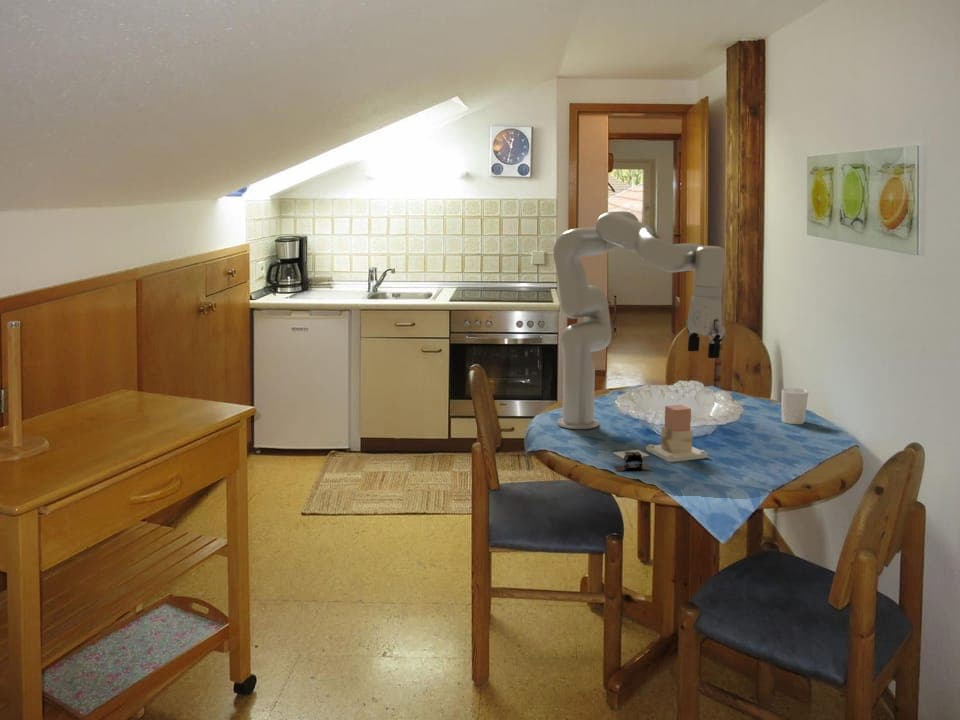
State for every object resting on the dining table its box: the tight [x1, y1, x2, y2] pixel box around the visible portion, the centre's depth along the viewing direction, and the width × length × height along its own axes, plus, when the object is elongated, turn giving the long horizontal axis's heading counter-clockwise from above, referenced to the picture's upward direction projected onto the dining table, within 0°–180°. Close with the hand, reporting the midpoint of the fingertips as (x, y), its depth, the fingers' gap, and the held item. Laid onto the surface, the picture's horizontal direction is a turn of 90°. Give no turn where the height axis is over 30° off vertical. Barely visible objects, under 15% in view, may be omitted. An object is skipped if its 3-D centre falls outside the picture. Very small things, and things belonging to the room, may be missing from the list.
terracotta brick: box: [663, 404, 692, 432], centre depth 260 cm, size 5×5×6 cm
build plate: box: [645, 444, 708, 463], centre depth 262 cm, size 12×12×2 cm
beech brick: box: [660, 426, 694, 454], centre depth 262 cm, size 6×6×6 cm
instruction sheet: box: [612, 449, 650, 460], centre depth 262 cm, size 6×8×1 cm
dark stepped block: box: [612, 452, 654, 473], centre depth 249 cm, size 12×7×5 cm, turn 95°
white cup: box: [780, 387, 809, 425], centre depth 297 cm, size 8×8×10 cm
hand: (703, 354), depth 260 cm, fingers open, 9 cm apart
